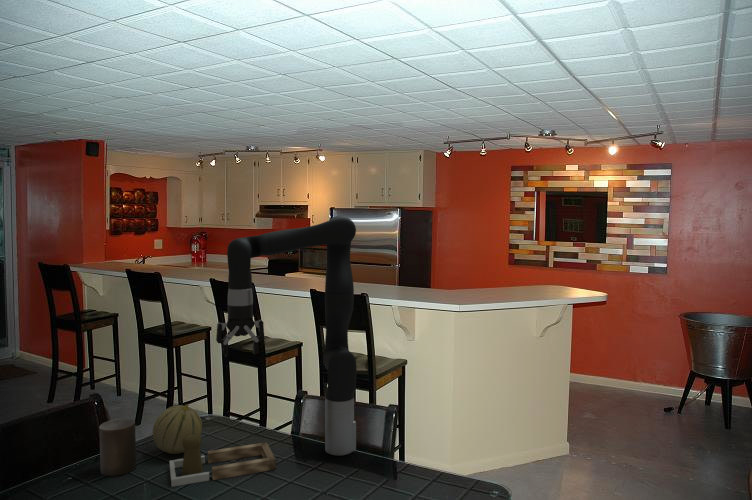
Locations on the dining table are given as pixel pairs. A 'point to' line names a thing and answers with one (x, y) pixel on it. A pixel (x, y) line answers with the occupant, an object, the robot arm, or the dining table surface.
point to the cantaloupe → (176, 428)
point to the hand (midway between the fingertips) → (240, 355)
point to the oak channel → (241, 467)
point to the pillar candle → (117, 447)
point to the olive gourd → (192, 455)
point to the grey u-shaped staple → (188, 478)
